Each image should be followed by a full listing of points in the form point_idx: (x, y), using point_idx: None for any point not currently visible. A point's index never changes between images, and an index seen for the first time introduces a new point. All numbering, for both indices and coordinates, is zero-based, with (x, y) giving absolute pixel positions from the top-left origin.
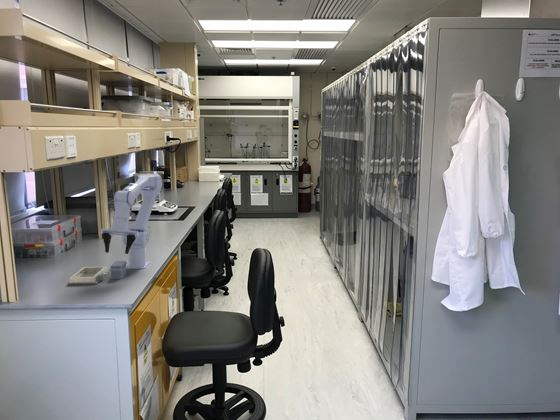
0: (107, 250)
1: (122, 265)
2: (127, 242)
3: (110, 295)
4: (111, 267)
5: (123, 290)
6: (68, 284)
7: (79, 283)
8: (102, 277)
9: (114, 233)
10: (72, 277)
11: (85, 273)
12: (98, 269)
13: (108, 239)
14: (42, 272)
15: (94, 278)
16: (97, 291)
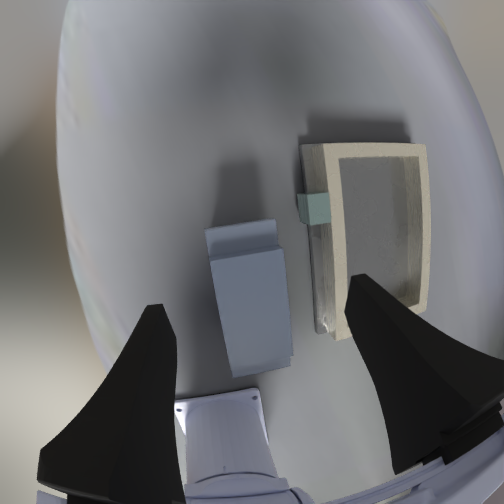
0: (356, 294)
1: (216, 296)
2: (120, 399)
3: (166, 19)
4: (274, 247)
5: (127, 78)
6: (410, 143)
7: (376, 142)
8: (301, 200)
9: (379, 499)
10: (418, 149)
11: (401, 280)
12: None
13: (414, 392)
14: (495, 282)
15: (323, 144)
16: (250, 55)
